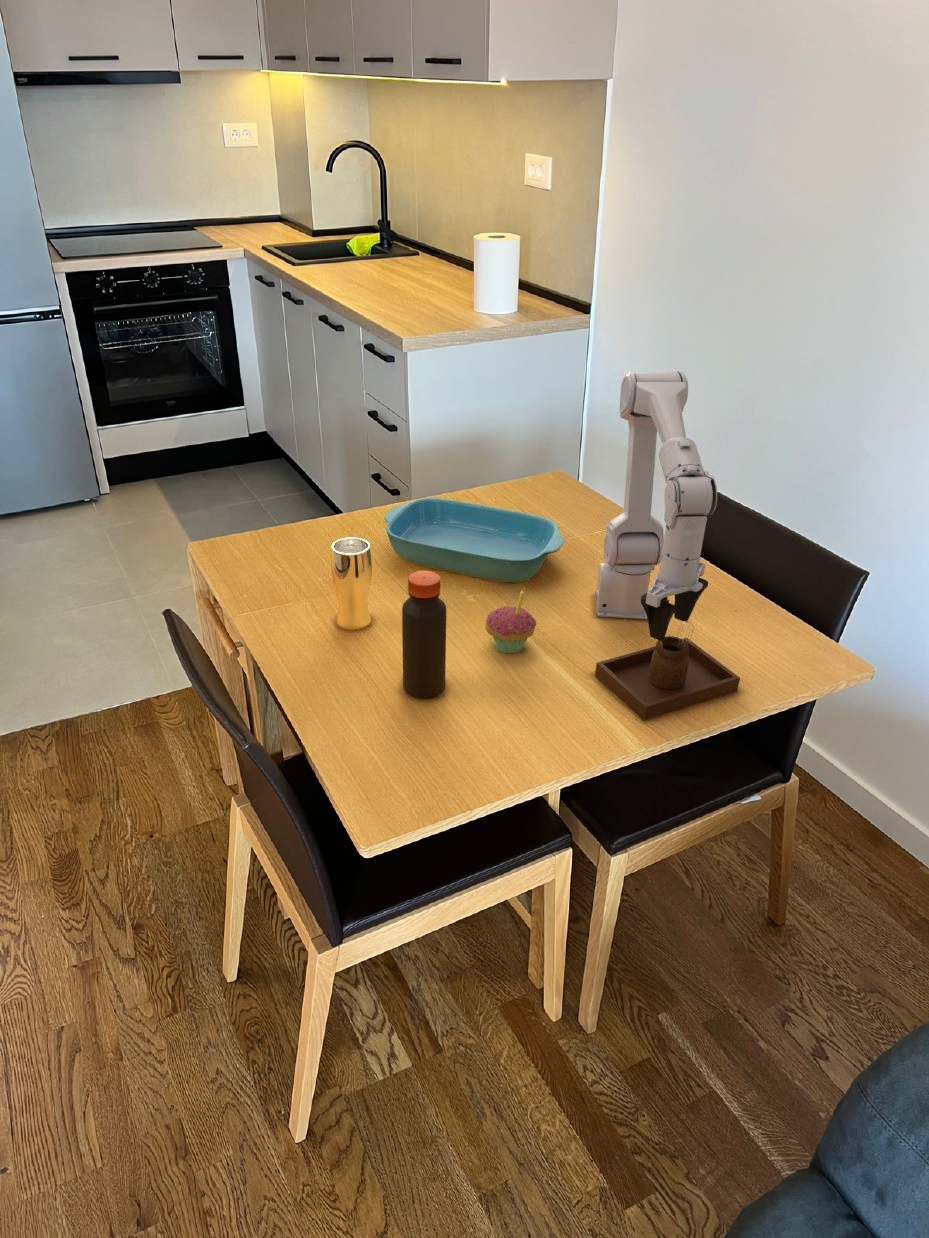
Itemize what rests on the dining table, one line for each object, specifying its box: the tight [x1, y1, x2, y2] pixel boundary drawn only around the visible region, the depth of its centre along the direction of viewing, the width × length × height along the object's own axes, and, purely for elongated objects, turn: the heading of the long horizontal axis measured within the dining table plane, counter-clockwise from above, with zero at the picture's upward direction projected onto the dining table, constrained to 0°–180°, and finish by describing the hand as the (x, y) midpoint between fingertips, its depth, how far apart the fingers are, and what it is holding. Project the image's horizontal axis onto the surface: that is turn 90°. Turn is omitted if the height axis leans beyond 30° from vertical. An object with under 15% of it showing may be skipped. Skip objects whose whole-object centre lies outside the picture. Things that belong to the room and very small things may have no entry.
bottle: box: [401, 570, 447, 700], centre depth 146 cm, size 7×7×20 cm
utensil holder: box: [649, 621, 695, 690], centre depth 150 cm, size 6×6×12 cm
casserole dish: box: [384, 497, 565, 584], centre depth 189 cm, size 37×22×7 cm, turn 70°
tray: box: [594, 637, 741, 721], centre depth 153 cm, size 19×14×3 cm
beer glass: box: [330, 537, 373, 631], centre depth 164 cm, size 7×7×15 cm
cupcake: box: [485, 587, 537, 654], centre depth 159 cm, size 9×8×12 cm
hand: (669, 628), depth 149 cm, fingers open, 7 cm apart
